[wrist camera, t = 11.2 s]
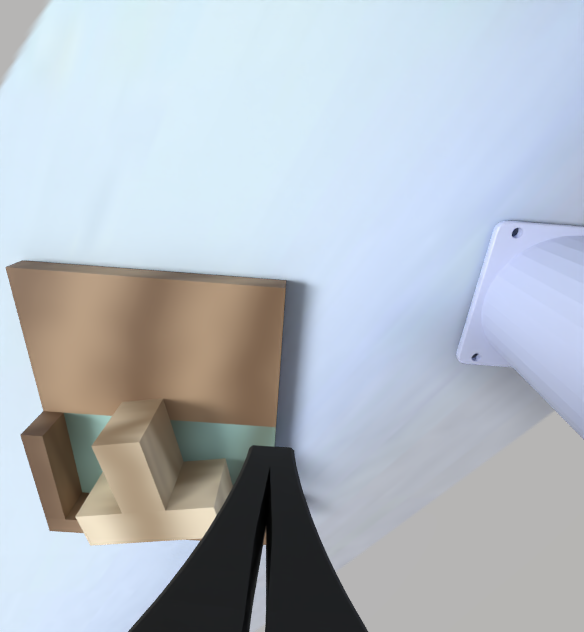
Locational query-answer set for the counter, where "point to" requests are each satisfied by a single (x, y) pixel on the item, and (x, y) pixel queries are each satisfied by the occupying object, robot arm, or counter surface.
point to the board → (144, 366)
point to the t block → (149, 482)
